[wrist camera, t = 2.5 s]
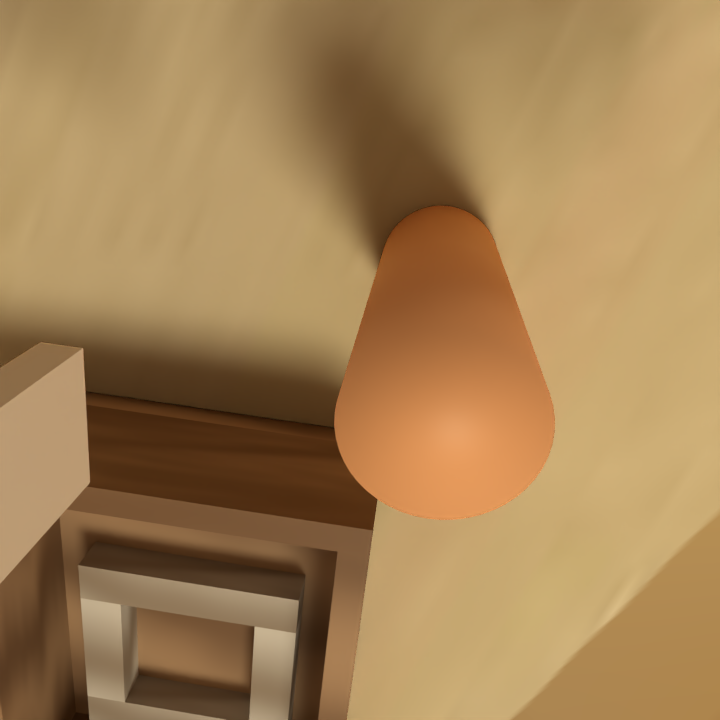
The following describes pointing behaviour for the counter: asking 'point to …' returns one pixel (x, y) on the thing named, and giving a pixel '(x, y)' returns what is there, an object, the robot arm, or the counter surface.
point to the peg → (443, 376)
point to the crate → (192, 575)
